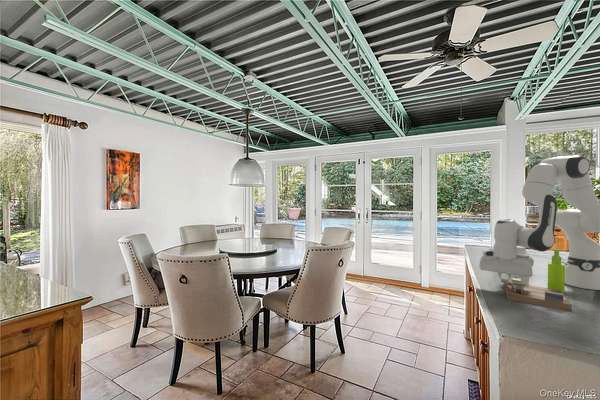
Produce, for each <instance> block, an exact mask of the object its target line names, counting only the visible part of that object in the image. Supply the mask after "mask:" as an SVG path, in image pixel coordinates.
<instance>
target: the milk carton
mask: <svg viewBox="0 0 600 400" xmlns="http://www.w3.org/2000/svg"><path fill="white" fill-rule="evenodd" d="M526 249H527V248H525V247H520V246H517V255H522V256H529V257H530V255H529V254H528V251H527V250H526ZM504 274H505V273H504ZM508 277H509V276H508V274H505V275H504V279H507V278H508ZM512 277H517V278H520V279H521V282H522V284H523V285H530V277H525V276H518V275H512V274H511V278H510V279H509V280H508V282H510V283H512Z"/></svg>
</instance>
